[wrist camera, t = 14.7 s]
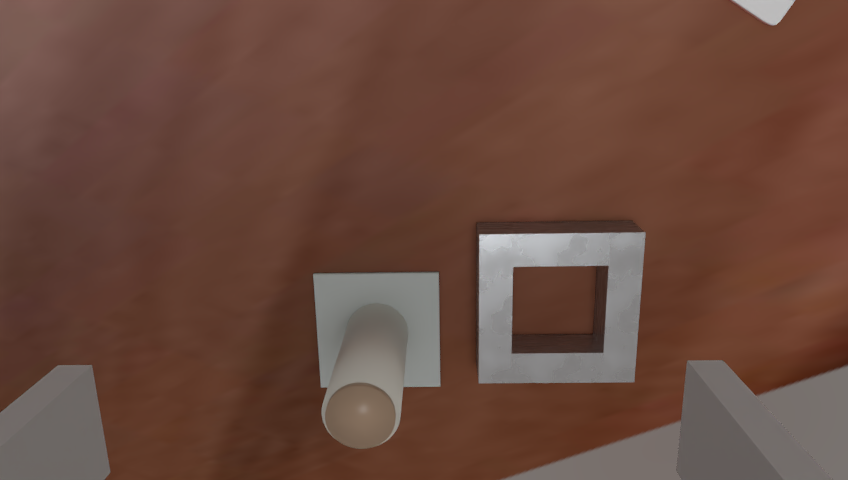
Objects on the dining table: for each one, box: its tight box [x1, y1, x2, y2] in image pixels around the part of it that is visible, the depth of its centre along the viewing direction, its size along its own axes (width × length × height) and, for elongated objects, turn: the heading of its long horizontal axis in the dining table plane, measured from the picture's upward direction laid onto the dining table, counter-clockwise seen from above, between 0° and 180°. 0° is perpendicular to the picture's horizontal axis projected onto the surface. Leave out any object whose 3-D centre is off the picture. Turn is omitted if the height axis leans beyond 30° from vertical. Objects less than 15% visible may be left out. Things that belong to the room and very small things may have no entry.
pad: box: [313, 272, 440, 387], centre depth 54 cm, size 10×10×1 cm
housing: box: [476, 221, 645, 383], centre depth 51 cm, size 12×12×4 cm
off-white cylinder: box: [322, 303, 408, 449], centre depth 47 cm, size 5×5×13 cm
